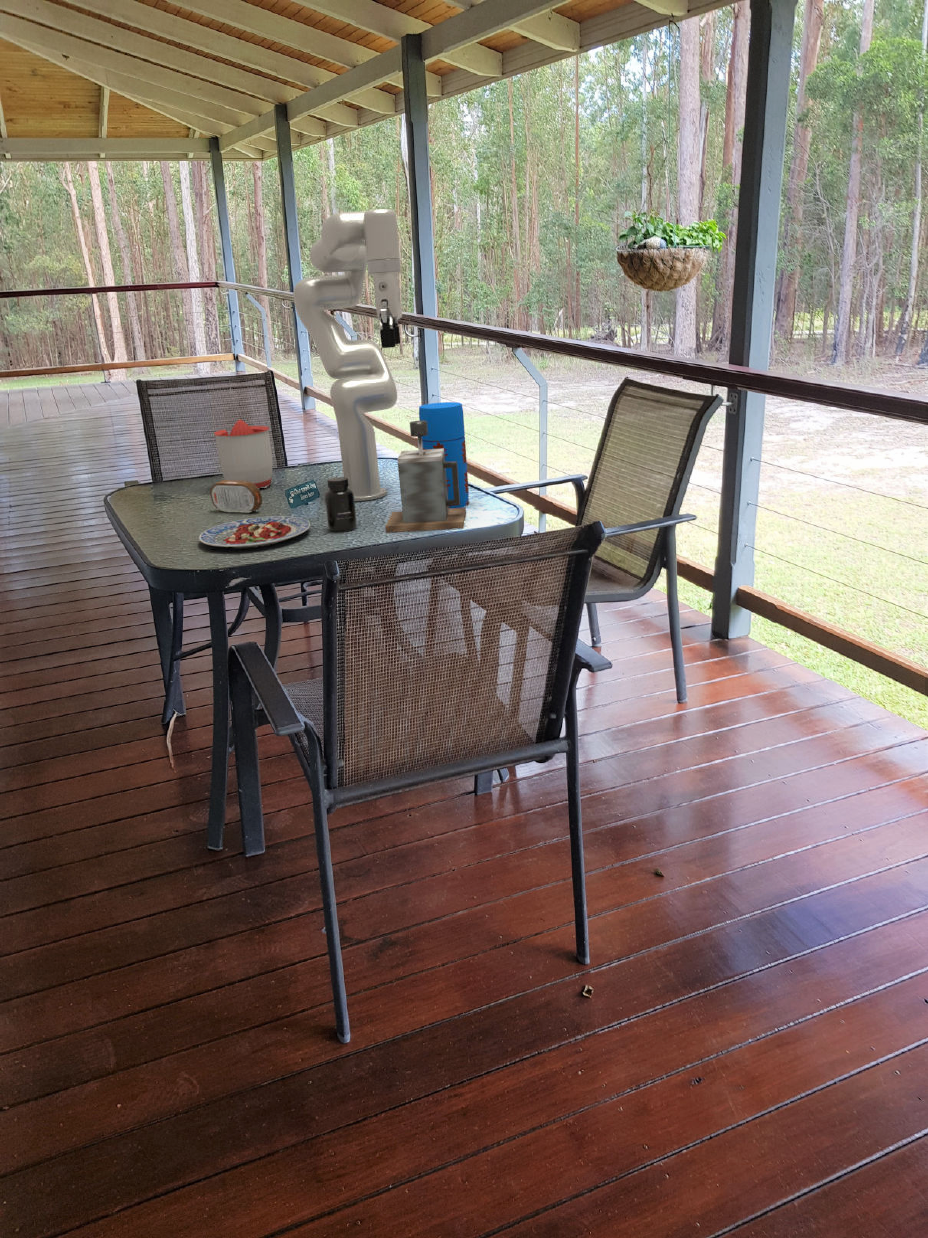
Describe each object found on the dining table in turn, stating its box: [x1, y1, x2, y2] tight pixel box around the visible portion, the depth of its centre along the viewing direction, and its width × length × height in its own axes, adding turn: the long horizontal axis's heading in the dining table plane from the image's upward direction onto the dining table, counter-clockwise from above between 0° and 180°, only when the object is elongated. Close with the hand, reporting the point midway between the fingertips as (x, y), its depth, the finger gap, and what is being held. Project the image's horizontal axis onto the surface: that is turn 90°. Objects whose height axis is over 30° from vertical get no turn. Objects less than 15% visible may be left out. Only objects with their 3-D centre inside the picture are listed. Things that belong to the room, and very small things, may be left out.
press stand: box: [384, 448, 467, 534], centre depth 226 cm, size 18×14×16 cm
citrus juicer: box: [213, 419, 274, 488], centre depth 280 cm, size 16×17×20 cm
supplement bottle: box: [324, 476, 358, 533], centre depth 227 cm, size 7×7×12 cm
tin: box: [209, 479, 263, 512], centre depth 252 cm, size 15×3×8 cm, turn 65°
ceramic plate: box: [198, 515, 311, 548], centre depth 226 cm, size 26×26×3 cm
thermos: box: [418, 401, 470, 509], centre depth 240 cm, size 11×11×25 cm
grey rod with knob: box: [409, 420, 428, 455], centre depth 224 cm, size 4×4×20 cm
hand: (391, 345), depth 225 cm, fingers open, 9 cm apart
